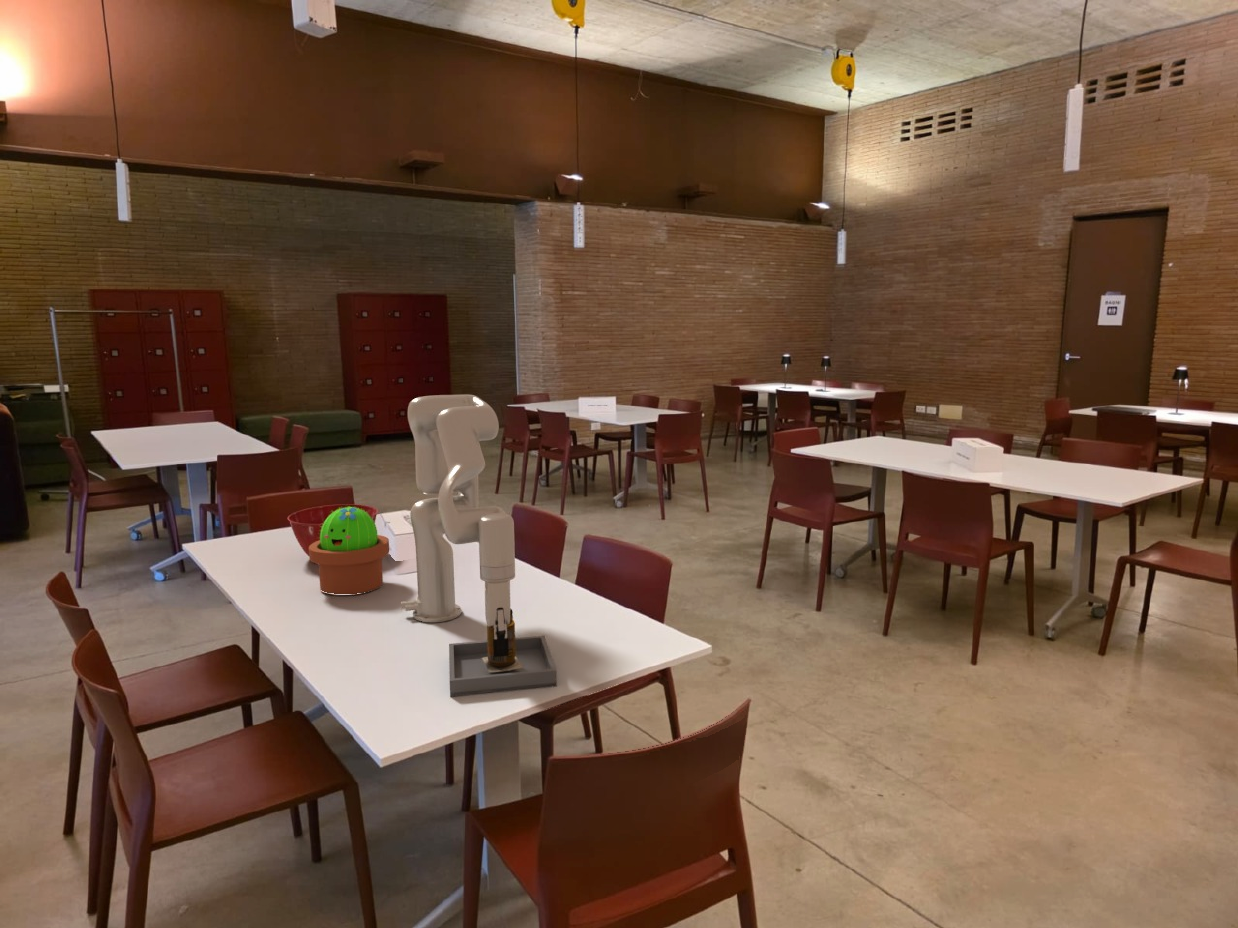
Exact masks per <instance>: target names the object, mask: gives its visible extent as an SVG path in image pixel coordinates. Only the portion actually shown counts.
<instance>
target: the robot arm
mask: <svg viewBox="0 0 1238 928" xmlns="http://www.w3.org/2000/svg"><path fill="white" fill-rule="evenodd" d="M407 421H408V424H409V428H410V431H411V433H412V436H413V441H414V445H415V446H414V447H415V448H414V450H415V451H414V452H415V453H414V454H415V482H416V486H417V489H418V492H419V493H422V494H423V495H424V494H425V495H438V497H431V498H424V499H421V500H418V501H417V502H415V503H414V504H413V505H412V507H411V509H410V513H409V515H410V521H411V526H412V531H413V536H414V543H415V557H416V558H415V559H416V561H415V563H416V578H417V597H416V599H413V601H401V602H400V608H401V610H405V612H410V611H413V612H412V617H413V619H415V620H416V621H418V622H421V621H422V622H421V623H441V622H443V623H444V622H447V621H450V620H454V619H456V618H457V617H459V616H460V615H461V614H462V607H461V606H460V605H458V604H456V591H455V589H456V587H455V569H454V568H455V567H454V551H453V547H452V545H451V544H454V545H464V544H472V543H478V549H479V550H478V552H479V553H478V554H479V578H480V580H481V581H484V605H485V608H484V609H485V611H484V612H485V614H484V615H485V621H486V627H487V626H488V627H490V626H493V625H494V626H493V627H494V638H493V654H494V657H500V656H508V655H509V649H508V637H507V626H508V625H509V624H510V608H511V580H514V579H515V577H516V557H515V556H516V554H515V551H516V550H515V549H516V548H515V522H514V518H513V517H512V516H511V515H510V514H508V513H506V511H504V509H503V508H502V507H500V506H498V505H497V506H496V505H490V506H482V507H481V506H480V507H479V474H481V473H482V472H483V470H484V469H485V467H486V462H485V458H484V454H483V451H482V448H481V444H480V442H482V441H491V440H493V439H495V438H496V437H497V436H498V433H499V430H500V427H499V426H500V425H499V424H500V423H499V419H498V416H497V413H496V412H495V410H494V409H493V408H492V407H491V406H490V405H489V404H488V403H487V402H486V401H484V400H483V399H482V398H480V397H479V396H477V395H474V394H439V395H437V394H436V395H425V396H418V397H416V398H414V399H412V400H411V401H410V402H409V403H408V407H407ZM453 493H457V495H453ZM443 535H444V536H445V537H446V538H444V536H443ZM446 539H447V540H448V541H447V540H446ZM450 543H451V544H450ZM504 620H505V624H504ZM495 622H498V625H495ZM496 628H498V630H496Z"/></svg>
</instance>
